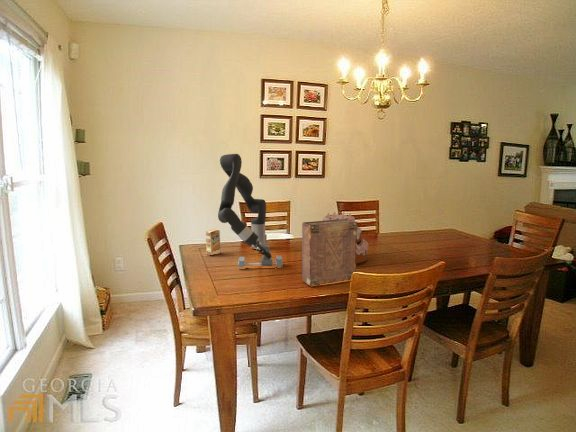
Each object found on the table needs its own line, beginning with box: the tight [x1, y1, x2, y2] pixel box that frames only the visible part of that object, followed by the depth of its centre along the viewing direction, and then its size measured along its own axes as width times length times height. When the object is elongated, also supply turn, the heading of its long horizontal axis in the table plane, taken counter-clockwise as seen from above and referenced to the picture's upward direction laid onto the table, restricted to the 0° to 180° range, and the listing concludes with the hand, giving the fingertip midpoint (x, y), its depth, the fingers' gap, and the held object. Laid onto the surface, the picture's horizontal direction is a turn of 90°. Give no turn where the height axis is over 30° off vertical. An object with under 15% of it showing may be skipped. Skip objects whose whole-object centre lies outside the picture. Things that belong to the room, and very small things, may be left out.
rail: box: [237, 255, 284, 268], centre depth 206 cm, size 25×8×5 cm, turn 96°
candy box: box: [205, 228, 221, 252], centre depth 231 cm, size 9×4×15 cm, turn 150°
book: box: [301, 219, 358, 286], centre depth 181 cm, size 25×9×30 cm, turn 114°
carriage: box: [260, 244, 273, 266], centre depth 206 cm, size 6×6×11 cm
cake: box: [322, 211, 369, 266], centre depth 221 cm, size 35×35×28 cm
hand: (270, 256), depth 206 cm, fingers closed on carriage, 3 cm apart
